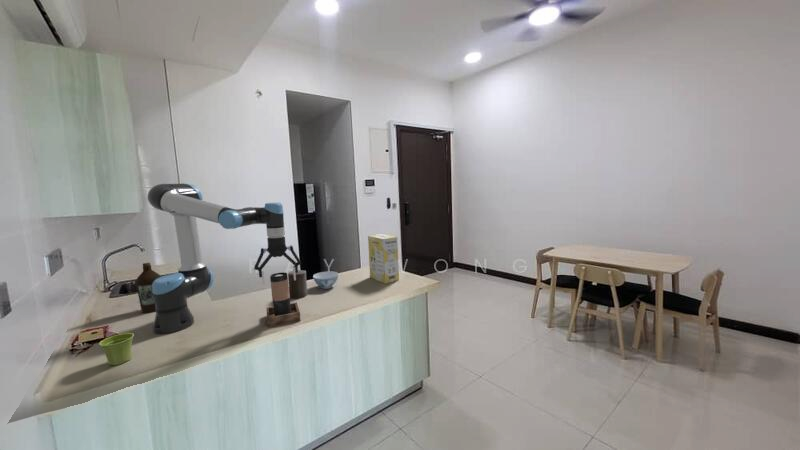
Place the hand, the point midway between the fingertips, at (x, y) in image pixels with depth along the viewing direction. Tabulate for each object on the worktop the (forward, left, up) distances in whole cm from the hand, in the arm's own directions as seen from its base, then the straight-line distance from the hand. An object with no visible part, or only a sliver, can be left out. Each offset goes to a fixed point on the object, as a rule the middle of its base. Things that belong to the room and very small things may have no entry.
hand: (279, 281), depth 145 cm
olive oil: (-62, +46, -18) cm, 79 cm away
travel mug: (0, 0, -17) cm, 17 cm away
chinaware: (+27, +36, -18) cm, 48 cm away
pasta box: (+64, +34, -18) cm, 75 cm away
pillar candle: (+10, +29, -18) cm, 35 cm away
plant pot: (-57, -11, -18) cm, 61 cm away
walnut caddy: (0, 0, -18) cm, 18 cm away
